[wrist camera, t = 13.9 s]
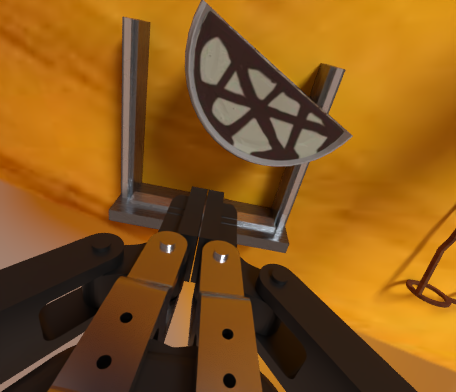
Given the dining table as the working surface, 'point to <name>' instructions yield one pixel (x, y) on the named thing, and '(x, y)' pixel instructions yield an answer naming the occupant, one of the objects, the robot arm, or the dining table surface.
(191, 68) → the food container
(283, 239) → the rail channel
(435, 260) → the glasses
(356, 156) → the dining table surface
